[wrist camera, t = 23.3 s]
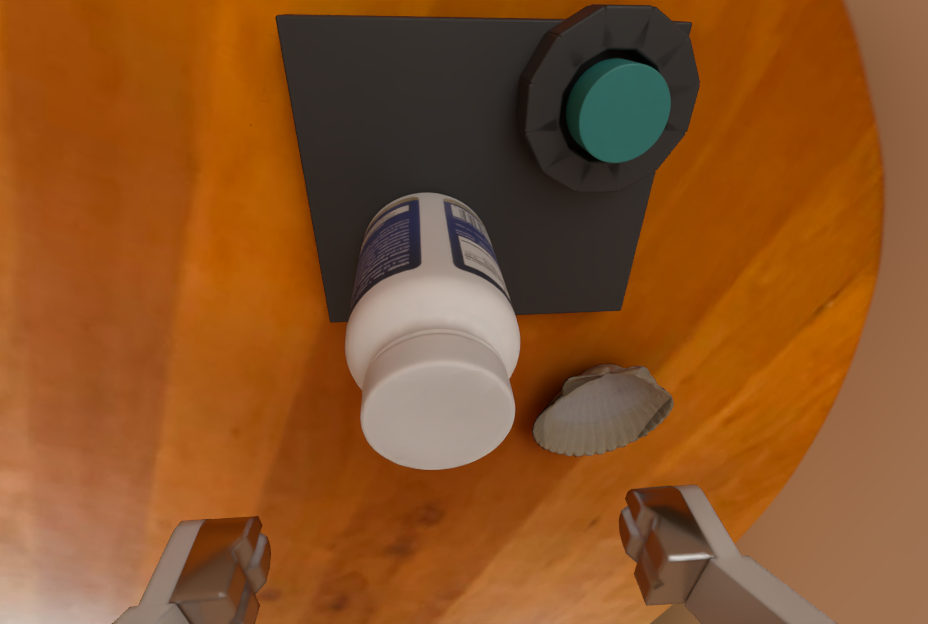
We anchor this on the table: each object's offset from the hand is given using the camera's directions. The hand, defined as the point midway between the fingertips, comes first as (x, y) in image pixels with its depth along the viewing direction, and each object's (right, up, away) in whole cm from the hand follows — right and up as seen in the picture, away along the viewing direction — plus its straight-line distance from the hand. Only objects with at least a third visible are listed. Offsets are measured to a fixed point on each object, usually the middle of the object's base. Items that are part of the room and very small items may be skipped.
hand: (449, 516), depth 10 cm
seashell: (+8, 0, +18) cm, 19 cm away
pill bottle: (-1, +7, +10) cm, 12 cm away
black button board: (+1, +10, +9) cm, 14 cm away
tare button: (+5, +12, +6) cm, 14 cm away
